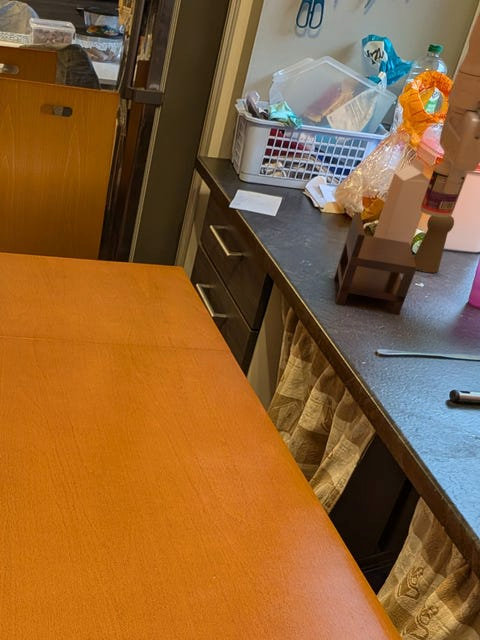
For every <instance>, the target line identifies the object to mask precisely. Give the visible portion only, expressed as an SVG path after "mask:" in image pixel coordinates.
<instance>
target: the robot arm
mask: <svg viewBox="0 0 480 640" xmlns="http://www.w3.org/2000/svg"><path fill="white" fill-rule="evenodd" d="M446 103H447V104H448V107H447V110H446V114H445V116H444V121H443V124H442V128H441V131H440V136H439V145H440V147H441V149H442V151H443V153H444V152H445V150H446V149H447V151H448V153H447V157H448V159H449V161H450V163H451V164H452V165H451V168H450V173H449V175H448V178H447V179H446V180H445V183H444V186H443V191H444V193H448V194H453V193H454V192H455V190H456V187H457V184H458V182H459V181H460V179H461V178H462V176H463V174H464V172H465V171H468V172H472V173H473V172H475V171H476V170H477V169H478V167H479V165H480V11H479V13H478V14H477V17H476V19H475V22H474V25H473V28H472V30H471V33H470V36H469V39H468V47H467V52H466V54H465V57H464V59H463V61H462V62H461V63H460V65H459V67H458V70H457V73H456V75H455V78H454V81H453V83H452V85H451V86H450V90H449V93H448V98H447V102H446ZM442 162H443V160H442ZM442 162H441V163H442Z"/></svg>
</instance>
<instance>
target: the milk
mask: <svg viewBox="0 0 480 640" xmlns="http://www.w3.org/2000/svg"><path fill="white" fill-rule="evenodd" d="M425 165H426V164H425V163H424V162H423V161H422V160H420V159H419V158H417V157H414V158H413V160H412V162H411V164H410V165H408V166H407V167H404V168H402V169H400V170H398V171H396V172H394V173H393V176H392V179H391V182H390V185H389V188H388V191H387V194H386V197H385V201H384V204H383V207H382V209H381V213H380V216H379V218H378V220H377V224H376V228H375V230H374V234H373V235H372V237H377V238H383V239H389V240H395V241H401V242H407V243H409V244H410V247H411V248H412V244H413V241H414V238H415V235H416V233H417V230H418V227H419V224H420V221H421V219H422V216H423V214H424V213H423V212H422V211H421V205H422V202H423V199H424V196H425V193H426V191H427V188H428V185H429V182H430V178H429V177H427V176H426V175H425V173H423V172H424V169H425ZM400 275H401V273H400Z"/></svg>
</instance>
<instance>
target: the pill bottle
mask: <svg viewBox="0 0 480 640" xmlns="http://www.w3.org/2000/svg"><path fill="white" fill-rule="evenodd" d="M447 153H448V151H447V149H446V150H445V152H444V151H443V155H442V161H443V162H438V164H436V165H435V166H434V168H433V171H432V173H431V176H430V178H429V180H430V182H429V185H428V188H427V191H426V193H425V196H424V199H423V202H422V205H421V211H422V212H423V213H422V214H425V215H428V216H437V217H449V216H452V215H453V213H454V210H455V208H456V205H457V203H458V200H459V197H460V195H461V192H462V190H463V186H464V184H465V182H466V178H467V175H468V172H469V171H465V172H464V174H463V176H462V178H461V179H460V181H459V182H458V184H457V187H456V190H455V192H454V193H453V194H448V193H444V191H443V186H444V183H445V180H446V179H447V178H448V175H449V173H450V168H451V165H452V164H451V163H450V161H449V159H448V157H447Z"/></svg>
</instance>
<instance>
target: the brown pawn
mask: <svg viewBox="0 0 480 640" xmlns="http://www.w3.org/2000/svg"><path fill="white" fill-rule="evenodd" d="M426 224H427V225H426V226H427V230H426V232H425V233H424V237H422V240H421V242H420V244H419V246H418V248H417V250H416V252H415V254H414V255H413V257H414V261H415V264H416V267H417V268H416V270H417V271H419V272H425V273H438V272H439V269H440V266H441V263H442V258H443V254H444V250H445V245H446V241H447V238H448V234H449V233H450V232H451V231H452V230H453V228H454V225H455V219H454V217H453V216H452V215H451V216H449V217H437V216H432V215H430V216H429V218H428V219H427V223H426Z"/></svg>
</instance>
